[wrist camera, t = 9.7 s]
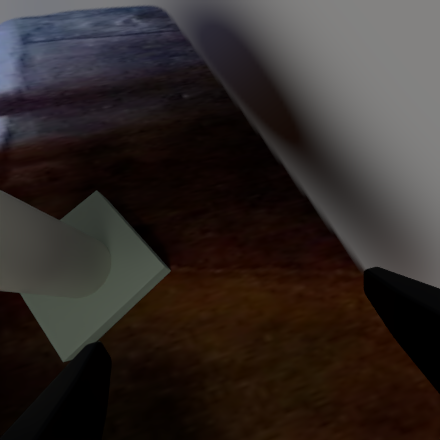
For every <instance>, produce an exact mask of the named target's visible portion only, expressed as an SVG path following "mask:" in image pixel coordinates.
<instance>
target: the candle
mask: <svg viewBox="0 0 440 440" xmlns="http://www.w3.org/2000/svg"><path fill="white" fill-rule="evenodd" d="M110 269H111V256H110V252H109V250H108V248H107V247H106V246H105V245H104V244H103V243H102V242H101V241H99V240H97V239H95V238H93V237H91V236H89V235H87V234H85V233H83V232H81V231H79V230H77V229H75V228H73V227H71V226H69V225H67V224H65V223H64V222H62V221H60V220H58V219H56V218H54V217H52V216H50V215H48V214H46V213H44V212H42V211H40V210H38V209H36V208H34V207H32V206H30V205H28V204H27V203H25V202H23V201H21V200H19V199H17V198H15V197H13V196H11V195H9V194H7V193H5V192H3V191H1V190H0V291H7V292H17V293H28V294H38V295H48V296H58V297H68V298H82V297H86V296H89V295H91V294H93V293H94V292H96V291H97V290H98V289H99V288H100V287H101V286H102V285H103V284H104V282H105V281H106V279H107V277H108V275H109V272H110Z"/></svg>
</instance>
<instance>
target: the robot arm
mask: <svg viewBox="0 0 440 440" xmlns="http://www.w3.org/2000/svg"><path fill="white" fill-rule="evenodd" d="M364 292H365V295H366V296H367V298H368V299H369V301H370V302H371V304H372V305H373V307H374V308H375V310H376V312H377V313H378V315H379V316H380V318H381V319H382V321H383V322H384V324H385V325H386V327H387V328H388V330H389V331H390V333H391V334H392V335H393V337H394V338H395V339H396V341H397V342H398V343H399V345H400V346H401V347H402V348H403V349H404V351H405V352H406V353H407V354H408V356H409V357H410V358H411V359H412V361H413V362H414V363H415V364H416V365H417V367H418V368H419V369H420V370H421V372H422V373H423V374H424V375H425V377H426V378H427V379H428V380H429V381H430V383H431V384H432V385H433V386H434V388H435V389H436V390H437V391H438V393H439V394H440V289H439V288H436V287H434V286H431V285H428V284H425V283H422V282H419V281H417V280H414V279H411V278H408V277H405V276H402V275H400V274H396V273H394V272H391V271H388V270H385V269H383V268H380V267H373V268H370V269H366V270H365V271H364ZM111 366H112V361H111V357H110V355H109V354H108V352H107V350H106V349H105V347H104V345H103V344H102V343H101V342H100V341H97V342H93V343H89V344H87V345H86V346H85V347H84V348H83V349H82V350H81V351H80V352H79V353H78V354H77V355H76V356H75V357H74V358H73V360H72V361H71V362H70V363H69V364H68V365H67V366H66V367H65V368H64V369H63V370H62V372H61V373H60V374H59V375H58V376H57V377H56V378H55V379H54V380H53V381H52V382H51V383H50V385H49V386H48V387H47V388H46V389H45V390H44V391H43V392H42V393H41V394H40V395H39V396H38V398H37V399H36V400H35V401H34V402H33V403H32V404H31V405H30V406H29V407H28V408H27V410H26V411H25V412H24V413H23V414H22V415H21V416H20V417H19V418H18V419H17V420H16V421H15V423H14V424H13V425H12V426H11V427H10V428H9V429H8V430H7V431H6V432H5V433H4V434H3V436H2V437H1V438H0V440H101V439H102V434H103V429H104V424H105V418H106V412H107V404H108V395H109V385H110V375H111Z"/></svg>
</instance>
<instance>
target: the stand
mask: <svg viewBox="0 0 440 440" xmlns="http://www.w3.org/2000/svg"><path fill="white" fill-rule="evenodd" d="M60 221H62V222H64V223H65V224H67V225H69V226H71V227H73V228H75V229H77V230H79V231H81V232H83V233H85V234H87V235H89V236H91V237H93V238H95V239H97V240H99V241H101V242H102V243H103V244H104V245H105V246H106V247H107V248H108V250H109V252H110V256H111V269H110V272H109V275H108V277H107V279H106V281H105V282H104V284H103V285H102V286H101V287H100V288H99V289H98V290H97V291H96V292H94V293H93V294H91V295H89V296H86V297H82V298H68V297H58V296H48V295H38V294H28V293H20V294H21V296H22V297H23V299H24V301H25V302H26V304H27V305H28V307H29V308H30V310H31V312H32V313H33V315H34V316H35V318H36V320H37V321H38V323H39V324H40V326H41V328H42V329H43V331H44V332H45V334H46V335H47V337H48V339H49V340H50V342H51V343H52V345H53V347H54V348H55V350H56V351H57V353H58V354H59V356H60V358H61V359H62V361H63V362H65V361H69V360H73V358H74V357H75V356H76V355H77V354H78V353H79V352H80V351H81V350H82V349H83V348H84V347H85V346H86V345H87V344H89V343H93V342H96V341H97V340H98V339H99V338H100V337H102V336H103V335H104V334H105V333H106V332H107V331H108V330H109V329H110V328H111V327H112V326H113V325H114V324H115V323H116V322H117V321H118V320H119V319H121V318H122V317H123V316H124V315H125V314H126V313H127V312H128V311H129V310H130V309H131V308H132V307H133V306H134V305H135V304H136V303H137V302H138V301H140V300H141V299H142V298H143V297H144V296H145V295H146V294H147V293H148V292H149V291H150V290H151V289H152V288H153V287H154V286H155V285H156V284H157V283H159V282H160V281H161V280H162V279H163V278H164V277H165V276H166V275H167V274H168V273H169V272H170V271H171V270H170V269H169V268H168V267H167V266H166V264H165V263H164V262H163V261H162V260H161V259H160V258H159V257H158V255H157V254H156V253H155V252H154V251H153V250H152V249H151V248H150V247H149V245H148V244H147V243H146V242H145V241H144V240H143V239H142V238H141V236H140V235H139V234H138V233H137V232H136V231H135V230H134V229H133V228H132V226H131V225H130V224H129V223H128V222H127V221H126V220H125V219H124V217H123V216H122V215H121V214H120V213H119V212H118V211H117V210H116V209H115V207H114V206H113V205H112V204H111V203H110V202H109V201H108V200H107V199H106V198H105V197H104V196H103V195H102V194H100V193H99V192H98V191H97V190H96V191H95V192H94V193H93V194H91V195H90V196H89V197H88V198H87V199H85V200H84V201H83V202H82V203H80V204H79V205H78V206H77V207H76V208H74V209H73V210H72V211H71V212H69V213H68V214H67V215H66V216H64V217H63V218H62V219H61V220H60Z"/></svg>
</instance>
